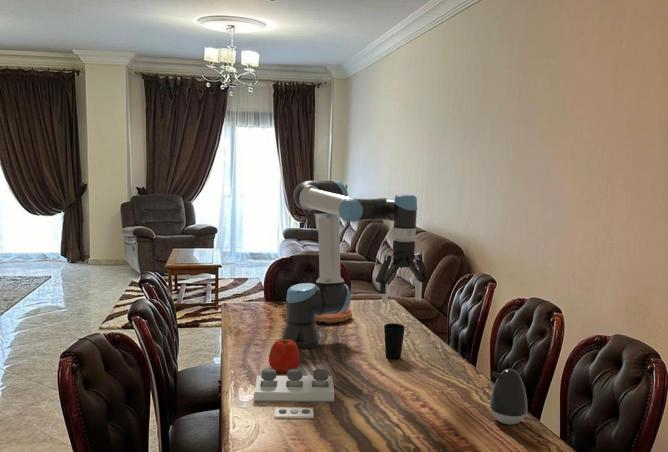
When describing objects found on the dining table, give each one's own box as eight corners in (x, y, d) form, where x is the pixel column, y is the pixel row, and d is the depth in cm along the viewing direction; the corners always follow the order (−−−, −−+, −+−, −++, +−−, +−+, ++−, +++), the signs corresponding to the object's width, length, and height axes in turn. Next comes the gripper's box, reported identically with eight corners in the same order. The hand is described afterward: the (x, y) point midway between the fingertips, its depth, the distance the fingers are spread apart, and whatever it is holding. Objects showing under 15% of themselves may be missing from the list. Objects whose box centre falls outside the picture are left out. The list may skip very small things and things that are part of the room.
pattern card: (275, 409, 174) (275, 406, 174) (313, 409, 174) (313, 406, 174) (274, 418, 168) (274, 415, 168) (313, 418, 168) (313, 415, 168)
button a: (312, 383, 189) (313, 368, 188) (327, 383, 189) (327, 369, 189) (313, 389, 184) (313, 374, 184) (328, 389, 185) (328, 374, 184)
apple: (286, 361, 216) (287, 333, 215) (306, 369, 208) (307, 339, 207) (262, 368, 208) (263, 338, 207) (282, 376, 200) (283, 346, 199)
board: (257, 384, 193) (257, 375, 192) (331, 385, 194) (331, 376, 194) (254, 401, 179) (254, 392, 179) (334, 402, 180) (334, 392, 180)
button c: (261, 383, 188) (261, 368, 187) (276, 383, 188) (276, 368, 188) (260, 388, 183) (261, 373, 183) (275, 388, 184) (276, 373, 183)
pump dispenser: (483, 413, 175) (486, 363, 174) (517, 413, 176) (521, 363, 175) (495, 428, 165) (498, 375, 164) (532, 428, 166) (535, 375, 165)
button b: (287, 383, 188) (287, 368, 188) (301, 383, 189) (302, 368, 188) (287, 389, 184) (287, 373, 183) (302, 389, 184) (302, 374, 184)
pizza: (307, 311, 291) (307, 303, 290) (354, 314, 288) (354, 306, 287) (298, 323, 268) (298, 315, 268) (349, 326, 265) (349, 318, 265)
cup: (402, 361, 219) (403, 329, 218) (381, 359, 221) (383, 328, 220) (404, 355, 227) (405, 324, 226) (384, 353, 228) (385, 322, 227)
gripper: (378, 242, 194) (375, 306, 196) (440, 240, 205) (437, 301, 208) (366, 239, 201) (364, 301, 203) (428, 237, 212) (425, 296, 214)
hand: (401, 301), depth 205 cm, fingers open, 13 cm apart
